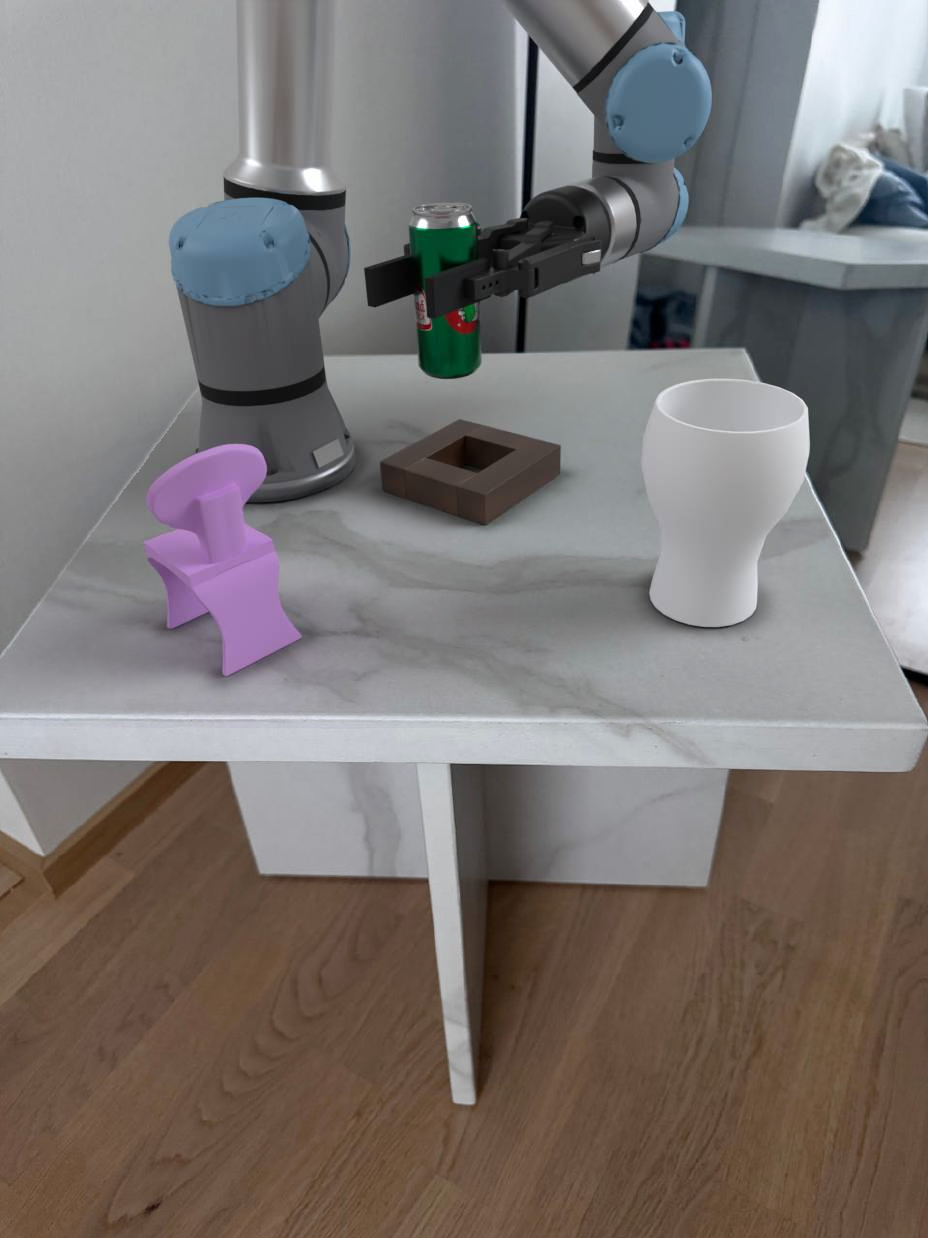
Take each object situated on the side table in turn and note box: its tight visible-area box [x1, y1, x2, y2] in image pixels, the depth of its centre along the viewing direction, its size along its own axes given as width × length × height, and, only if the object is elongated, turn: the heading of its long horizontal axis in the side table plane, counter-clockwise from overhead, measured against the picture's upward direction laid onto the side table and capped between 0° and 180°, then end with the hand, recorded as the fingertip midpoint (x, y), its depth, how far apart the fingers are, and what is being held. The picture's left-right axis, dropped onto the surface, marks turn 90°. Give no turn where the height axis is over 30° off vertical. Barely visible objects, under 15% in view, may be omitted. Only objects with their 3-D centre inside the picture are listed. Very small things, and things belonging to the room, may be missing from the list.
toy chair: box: [142, 444, 303, 677], centre depth 59 cm, size 8×9×15 cm
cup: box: [640, 378, 811, 628], centre depth 60 cm, size 11×11×15 cm
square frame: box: [379, 418, 562, 526], centre depth 80 cm, size 12×12×3 cm
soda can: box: [407, 201, 483, 380], centre depth 66 cm, size 5×5×12 cm
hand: (399, 292), depth 62 cm, fingers closed on soda can, 5 cm apart
